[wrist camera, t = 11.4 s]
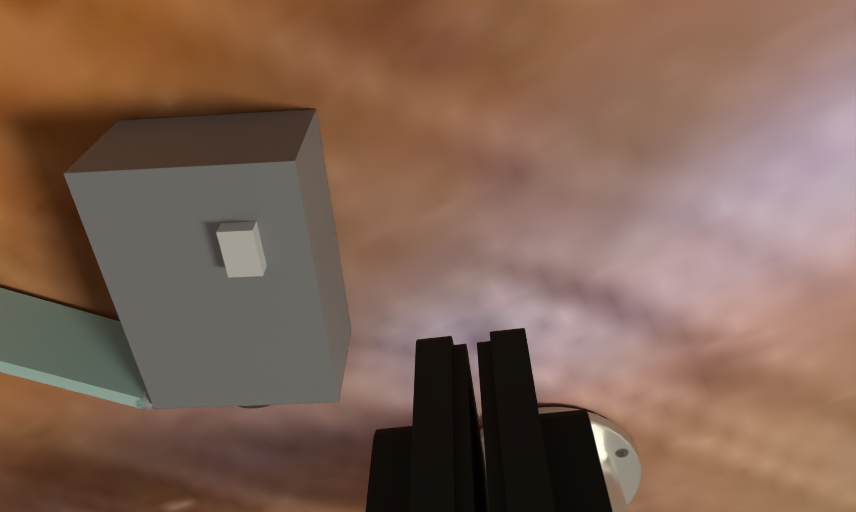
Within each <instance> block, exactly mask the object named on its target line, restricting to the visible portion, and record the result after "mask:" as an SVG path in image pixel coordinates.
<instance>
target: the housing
mask: <svg viewBox="0 0 856 512" xmlns="http://www.w3.org/2000/svg"><path fill="white" fill-rule="evenodd" d="M63 174H64V176H65V179H66V182H67V184H68V187H69V189H70V192H71V195H72V197H73V200H74V202H75V205H76V208H77V210H78V213H79V215H80V218H81V221H82V223H83V226H84V228H85V231H86V233H87V236H88V239H89V241H90V244H91V246H92V249H93V252H94V254H95V257H96V259H97V262H98V265H99V267H100V270H101V272H102V275H103V278H104V280H105V283H106V285H107V288H108V291H109V293H110V296H111V298H112V301H113V303H114V306H115V309H116V311H117V314H118V316H119V319H120V322H121V324H122V327H123V329H124V332H125V335H126V337H127V340H128V342H129V345H130V348H131V350H132V353H133V355H134V358H135V360H136V363H137V366H138V368H139V371H140V373H141V376H142V379H143V381H144V384H145V386H146V389H147V392H148V394H149V397H150V399H151V402H152V405H153V407H154V409H172V408H199V407H225V406H239V407H243V408H261V407H265V406H269V405H278V404H305V403H331V402H339V401H340V395H341V389H342V383H343V377H344V371H345V365H346V359H347V353H348V347H349V341H350V335H351V326H350V320H349V314H348V307H347V301H346V295H345V288H344V282H343V276H342V269H341V263H340V257H339V251H338V244H337V238H336V232H335V225H334V219H333V213H332V206H331V200H330V194H329V187H328V181H327V175H326V169H325V162H324V156H323V150H322V143H321V137H320V131H319V124H318V118H317V112H316V109H308V110H291V111H273V112H256V113H238V114H221V115H203V116H186V117H168V118H150V119H133V120H118V121H117V122H116V123H115V124H114V125H113V126H112V127H111V128H110V129H109V130H107V131H106V132H105V133H104V134H103V135H102V136H101V137H100V138H99V139H98V140H97V141H96V142H95V143H94V144H93V145H92V146H91V147H90V148H89V149H88V150H87V151H86V152H85V153H84V154H83V155H82V156H81V157H80V158H79V159H78V160H77V161H76V162H75V163H74V164H73V165H72V166H70V167H69V168H68V169H67V170H66V171H65V172H64V173H63Z"/></svg>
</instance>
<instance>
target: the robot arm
mask: <svg viewBox="0 0 856 512" xmlns="http://www.w3.org/2000/svg"><path fill="white" fill-rule="evenodd" d="M490 340H491V341H487V342H478V343H477V351H478V365H479V378H480V392H481V406H482V420H483V428H482V429H480V428H479V421H478V415H477V408H476V402H475V396H474V389H473V383H472V376H471V370H470V364H469V357H468V351H467V345H466V344H459V345H454V344H453V339H452V336H446V337H437V338H428V339H419V340H417V341H416V354H415V378H414V402H413V425H412V426H408V427H398V428H388V429H378V430H376V432H375V434H374V439H373V446H372V455H371V465H370V475H369V484H368V494H367V504H366V512H629V511H628V507H627V505H628V504H629V503H630V502H631V500H632V499H633V497H634V495H635V494H636V492H637V490H638V487H639V483H640V480H641V466H640V462H639V458H638V455H637V451H636V449H635V447H634V445H633V443H632V440H631V439H630V438H629V437H628V436H627V434H626V433H625V432H624V431H623V430H622V429H621V428H619V427H618V426H617V425H615V424H614V423H613V422H611V421H609V420H607V419H605V418H603V417H601V416H599V415H597V414H594V413H590V412H587V410H586V409H583V410H580V409H573V408H565V407H541V408H538V404H537V398H536V392H535V386H534V380H533V374H532V368H531V362H530V356H529V350H528V344H527V338H526V333H525V328H520V329H511V330H501V331H492V332H490Z"/></svg>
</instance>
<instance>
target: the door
mask: <svg viewBox="0 0 856 512" xmlns="http://www.w3.org/2000/svg"><path fill="white" fill-rule="evenodd" d="M0 372H3V373H7V374H10V375H14V376H18V377H22V378H26V379H29V380H33V381H37V382H41V383H45V384H49V385H52V386H56V387H60V388H64V389H68V390H72V391H75V392H79V393H83V394H87V395H91V396H94V397H98V398H102V399H106V400H110V401H114V402H117V403H121V404H125V405H129V406H133V407H136V408H140V409H142V410H150V409H151V408H152V407H153V405H152V402H151V399H150V397H149V394H148V392H147V389H146V386H145V384H144V381H143V379H142V376H141V373H140V371H139V368H138V366H137V363H136V360H135V358H134V355H133V353H132V350H131V348H130V345H129V342H128V340H127V337H126V335H125V332H124V329H123V327H122V324H121V322H120V321H116V320H113V319H109V318H106V317H102V316H99V315H95V314H91V313H88V312H84V311H81V310H77V309H74V308H70V307H67V306H63V305H60V304H56V303H53V302H49V301H45V300H42V299H38V298H35V297H31V296H28V295H24V294H21V293H17V292H14V291H10V290H7V289H3V288H0Z"/></svg>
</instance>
